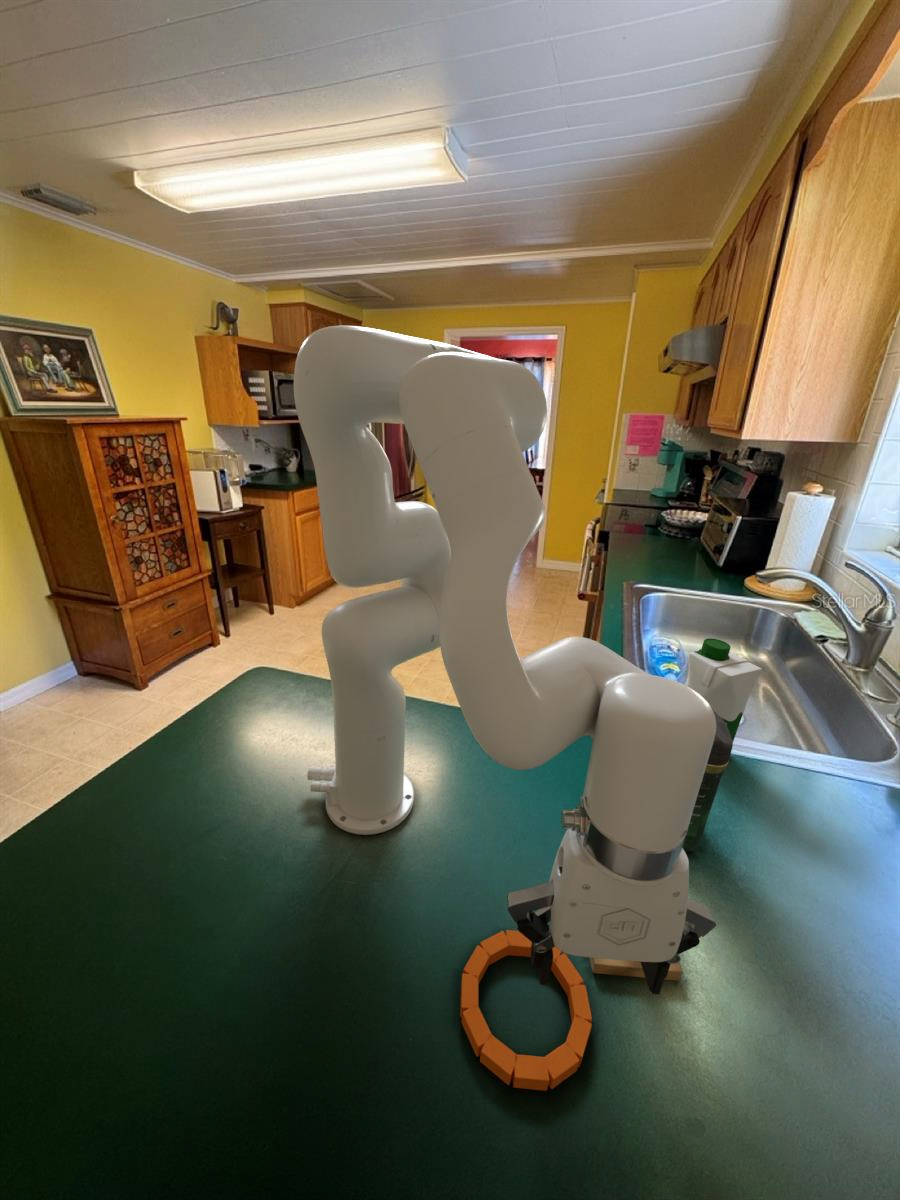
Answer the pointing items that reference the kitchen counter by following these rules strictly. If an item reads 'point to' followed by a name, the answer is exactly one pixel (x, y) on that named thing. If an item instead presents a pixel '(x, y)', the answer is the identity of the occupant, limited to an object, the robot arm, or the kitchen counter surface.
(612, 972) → the stand
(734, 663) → the milk carton
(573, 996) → the orange segmented ring
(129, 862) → the kitchen counter surface
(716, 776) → the coffee jar
